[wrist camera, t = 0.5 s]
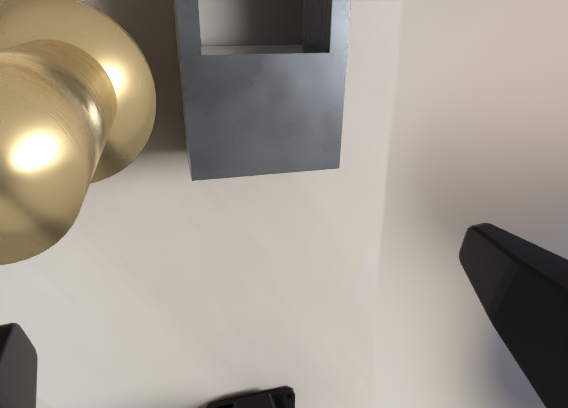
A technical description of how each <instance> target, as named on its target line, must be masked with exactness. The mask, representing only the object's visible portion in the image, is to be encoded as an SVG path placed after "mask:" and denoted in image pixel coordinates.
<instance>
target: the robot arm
mask: <svg viewBox="0 0 568 408" xmlns="http://www.w3.org/2000/svg"><path fill="white" fill-rule="evenodd" d="M459 259H460V262H461V265H462V266H463V268H464V271H465V273H466V275H467V276H468V278H469V280H470V282H471V284H472V286H473V288H474V290H475V292H476V294H477V296H478V298H479V300H480V302H481V303H482V306H483V307H484V309H485V312H486V314H487V315H488V317H489V319H490V321H491V322H492V324H493V326H494V328H495V329H496V331H497V332H498V334H499V335H500V337H501V339H502V340H503V342H504V343H505V345H506V346H507V348H508V349H509V351H510V353H511V354H512V355H513V357H514V359H515V360H516V362H517V363H518V365H519V366H520V368H521V370H522V371H523V373H524V374H525V376H526V377H527V379H528V380H529V382H530V383H531V385H532V387H533V388H534V390H535V391H536V393H537V394H538V396H539V397H540V399H541V400H542V402H543V403H544V405H545V406H546V408H568V260H567V259H565V258H563V257H561V256H559V255H556V254H554V253H552V252H550V251H548V250H546V249H543V248H541V247H539V246H537V245H535V244H533V243H531V242H529V241H526V240H524V239H522V238H520V237H518V236H516V235H514V234H511V233H509V232H507V231H505V230H503V229H500V228H498V227H496V226H494V225H492V224H490V223H482V224H477V225H472V226H470V227H469V228H468V229H467V231H466V233H465V236H464V239H463V242H462V245H461V248H460V251H459ZM36 387H37V353H36V350H35V348H34V346H33V344H32V343H31V341H30V340H29V338H28V337H27V335H26V334H25V332H24V331H23V329H22V328H21V327H20V325H18V324H17V323H9V324H4V325H0V408H36ZM207 408H295V393H294V390H293V389H292V388H290V387H288V388H283V389H278V390H273V391H268V392H263V393H258V394H254V395H249V396H244V397H239V398H234V399H229V400H225V401H220V402H215V403H211V404H209V405H208V406H207Z"/></svg>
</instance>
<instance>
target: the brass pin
mask: <svg viewBox="0 0 568 408" xmlns="http://www.w3.org/2000/svg"><path fill="white" fill-rule="evenodd" d="M155 114H156V89H155V83H154V78H153V75H152V72H151V69H150V66H149V64H148V62H147V60H146V57H145V55H144V54H143V52H142V51H141V49H140V47H139V46H138V44H137V43H136V42H135V41H134V39H133V38H132V37H131V35H130V34H129V33H128V32H127V31H126V30H125V29H124V28H123V27H122V26H121V25H120V24H118V23H117V22H116V21H115V20H113V19H112V18H111V17H110V16H108V15H106V14H105V13H103V12H102V11H100V10H98V9H97V8H95V7H92V6H90V5H88V4H86V3H84V2H81V1H78V0H0V265H4V264H10V263H15V262H19V261H22V260H26V259H28V258H31V257H33V256H36V255H38V254H40V253H42V252H43V251H45V250H47V249H49V248H50V247H51V246H53V245H54V244H55V243H57V242H58V241H59V240H60V239H61V238H62V237H63V236H64V235H65V234H66V233H67V232H68V230H69V229H70V228H71V226H72V225H73V223H74V221H75V220H76V218H77V216H78V214H79V211H80V208H81V206H82V203H83V201H84V198H85V195H86V193H87V190H88V187H89V185H90V183H94V182H98V181H101V180H103V179H106V178H108V177H111V176H112V175H114V174H116V173H118V172H120V171H121V170H122V169H124V168H125V167H127V166H128V165H129V164H130V163H131V162H132V161H133V160H134V159H135V158H136V157H137V156H138V155H139V153H140V152H141V151H142V150H143V148H144V146H145V145H146V143H147V141H148V139H149V137H150V134H151V132H152V129H153V125H154V121H155Z"/></svg>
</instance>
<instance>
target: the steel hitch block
mask: <svg viewBox="0 0 568 408" xmlns="http://www.w3.org/2000/svg"><path fill="white" fill-rule="evenodd" d="M173 4H174V15H175V26H176V37H177V48H178V59H179V71H180V82H181V93H182V104H183V115H184V126H185V137H186V148H187V156H188V162H189V167H190V173H191V178H192V181H194V180H206V179H218V178H230V177H241V176H253V175H265V174H277V173H289V172H300V171H312V170H324V169H336V168H339V163H340V148H341V134H342V120H343V105H344V91H345V77H346V62H347V48H348V34H349V19H350V5H351V0H304V2H303V39H302V45H231V46H201V39H200V25H199V10H198V0H173Z"/></svg>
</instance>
